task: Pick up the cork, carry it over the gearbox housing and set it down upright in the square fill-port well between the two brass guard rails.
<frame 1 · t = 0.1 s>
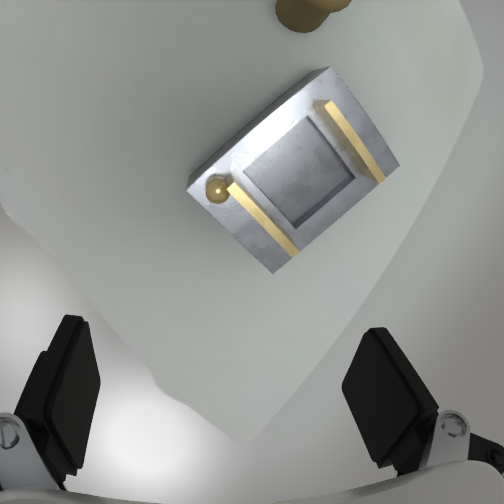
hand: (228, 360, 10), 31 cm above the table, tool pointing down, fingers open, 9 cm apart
gearbox housing: (288, 163, 39), on the table
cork: (299, 11, 31), on the table
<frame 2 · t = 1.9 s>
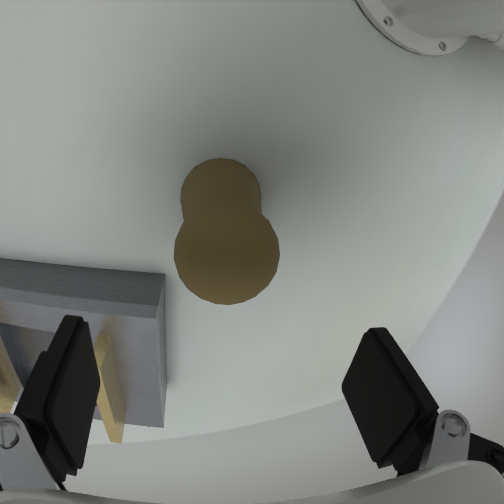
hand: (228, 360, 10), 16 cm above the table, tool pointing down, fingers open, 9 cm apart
gearbox housing: (69, 326, 28), on the table
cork: (220, 196, 24), on the table
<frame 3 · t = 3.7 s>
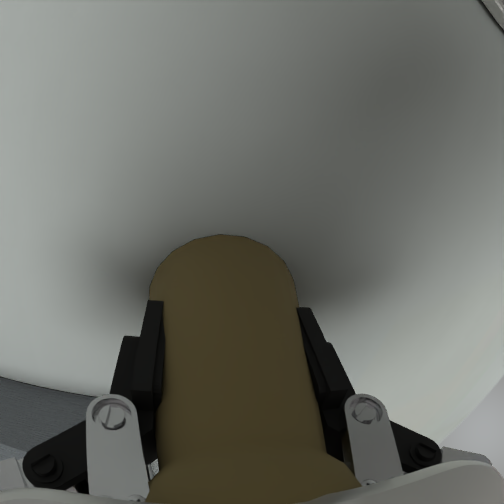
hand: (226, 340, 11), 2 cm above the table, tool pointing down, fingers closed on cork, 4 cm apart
gearbox housing: (24, 435, 16), on the table
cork: (222, 300, 13), on the table, touching gripper
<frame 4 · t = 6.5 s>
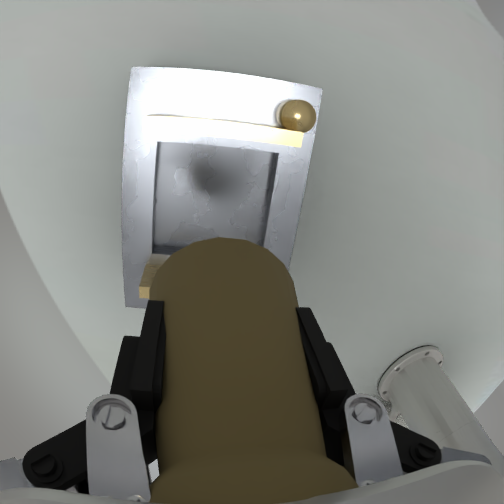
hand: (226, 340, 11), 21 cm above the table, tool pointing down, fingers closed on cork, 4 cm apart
gearbox housing: (210, 185, 30), on the table
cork: (222, 302, 13), point 19 cm above the table, touching gripper
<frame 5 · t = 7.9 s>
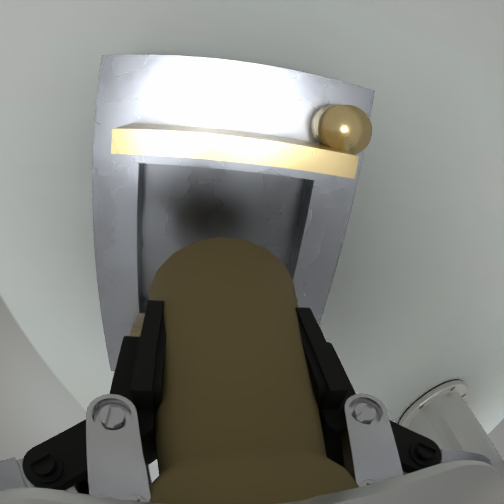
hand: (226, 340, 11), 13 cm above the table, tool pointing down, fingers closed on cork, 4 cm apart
gearbox housing: (215, 215, 23), on the table
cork: (222, 302, 13), point 11 cm above the table, touching gripper
when the fingers open (8 cm above the table, at t = 9.3 s): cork stays where it is, resting on gearbox housing.
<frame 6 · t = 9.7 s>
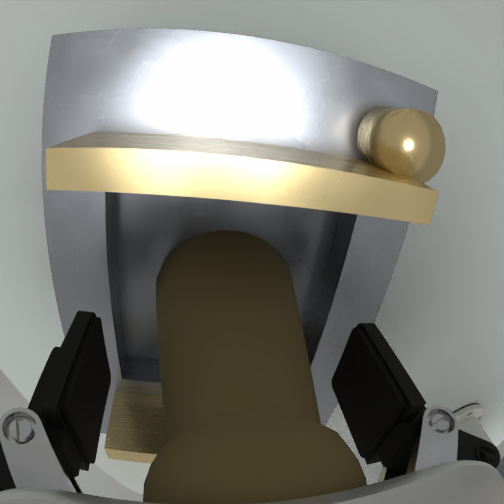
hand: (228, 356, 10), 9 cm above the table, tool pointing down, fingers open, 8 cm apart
gearbox housing: (216, 246, 18), on the table
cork: (224, 292, 14), point 4 cm above the table, touching gearbox housing
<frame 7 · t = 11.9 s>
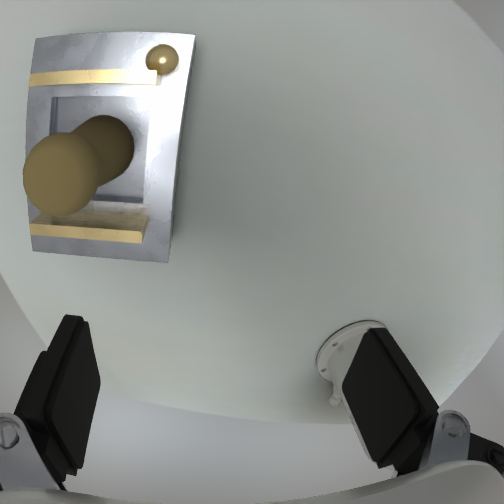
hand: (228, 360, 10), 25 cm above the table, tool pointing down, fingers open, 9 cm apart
gearbox housing: (112, 139, 29), on the table
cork: (102, 148, 25), point 4 cm above the table, touching gearbox housing
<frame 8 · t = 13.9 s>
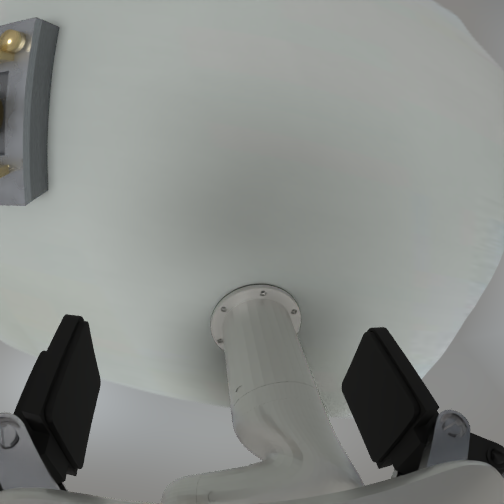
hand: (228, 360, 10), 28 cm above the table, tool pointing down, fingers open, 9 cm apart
gearbox housing: (3, 112, 28), on the table
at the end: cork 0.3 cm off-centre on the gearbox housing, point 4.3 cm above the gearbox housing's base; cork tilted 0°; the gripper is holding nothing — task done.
